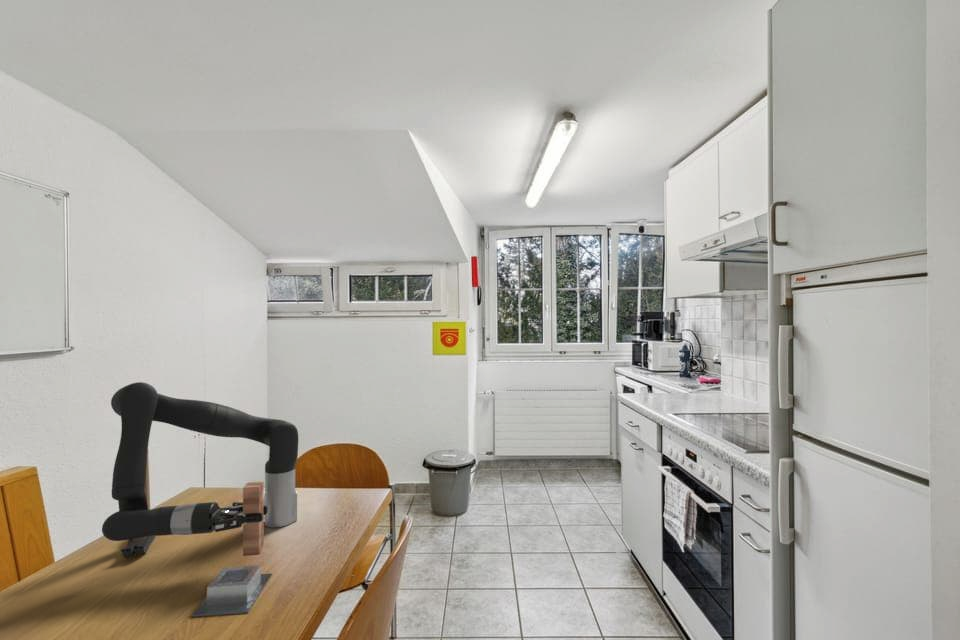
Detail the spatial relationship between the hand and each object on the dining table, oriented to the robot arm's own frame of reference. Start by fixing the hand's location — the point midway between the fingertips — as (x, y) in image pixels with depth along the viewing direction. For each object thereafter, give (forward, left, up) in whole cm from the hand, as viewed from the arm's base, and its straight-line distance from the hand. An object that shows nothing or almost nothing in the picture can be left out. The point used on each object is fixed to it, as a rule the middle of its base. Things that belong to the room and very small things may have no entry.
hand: (264, 513), depth 124 cm
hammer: (+24, -36, -14) cm, 46 cm away
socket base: (+9, +10, -15) cm, 20 cm away
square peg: (+2, -1, -10) cm, 10 cm away
